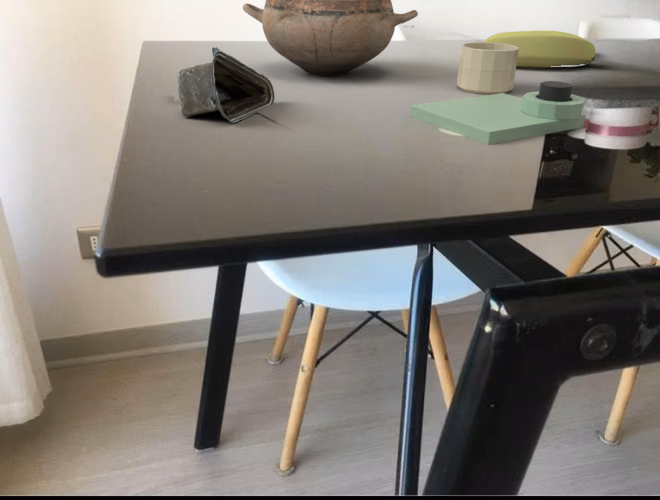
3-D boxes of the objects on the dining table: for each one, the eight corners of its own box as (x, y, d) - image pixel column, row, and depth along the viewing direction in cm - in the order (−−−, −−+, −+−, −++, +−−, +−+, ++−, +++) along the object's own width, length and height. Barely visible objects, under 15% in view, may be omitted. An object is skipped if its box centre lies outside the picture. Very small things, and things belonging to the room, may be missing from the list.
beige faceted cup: (484, 82, 88) (489, 41, 85) (523, 93, 82) (530, 48, 80) (445, 87, 84) (449, 44, 82) (483, 98, 79) (489, 52, 76)
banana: (592, 23, 91) (456, 31, 100) (588, 63, 92) (454, 67, 101) (597, 38, 103) (475, 44, 112) (594, 73, 104) (473, 76, 113)
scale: (504, 104, 76) (507, 78, 75) (591, 128, 67) (597, 100, 66) (409, 117, 69) (412, 90, 68) (492, 147, 60) (496, 116, 59)
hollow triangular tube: (228, 98, 77) (164, 33, 67) (277, 87, 74) (219, 17, 64) (215, 166, 73) (146, 108, 64) (267, 157, 70) (203, 95, 61)
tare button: (551, 96, 69) (554, 80, 68) (575, 102, 66) (579, 85, 65) (531, 99, 67) (534, 82, 66) (555, 105, 65) (558, 88, 64)
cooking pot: (415, 64, 99) (422, -20, 94) (410, 89, 83) (417, -12, 77) (261, 56, 103) (259, -25, 97) (226, 79, 86) (221, -19, 81)
